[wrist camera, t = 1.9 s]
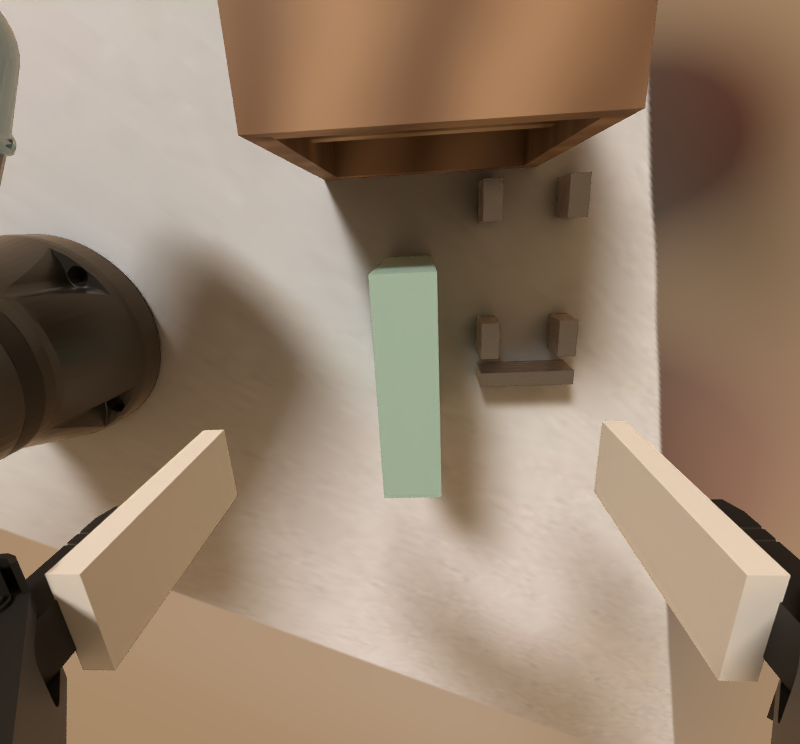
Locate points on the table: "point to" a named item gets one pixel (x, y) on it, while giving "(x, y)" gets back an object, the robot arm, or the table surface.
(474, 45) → the cabinet
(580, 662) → the table surface
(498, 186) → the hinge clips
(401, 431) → the door
